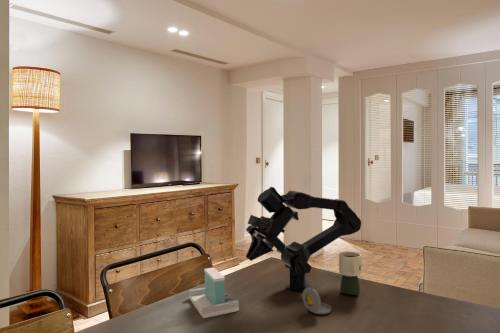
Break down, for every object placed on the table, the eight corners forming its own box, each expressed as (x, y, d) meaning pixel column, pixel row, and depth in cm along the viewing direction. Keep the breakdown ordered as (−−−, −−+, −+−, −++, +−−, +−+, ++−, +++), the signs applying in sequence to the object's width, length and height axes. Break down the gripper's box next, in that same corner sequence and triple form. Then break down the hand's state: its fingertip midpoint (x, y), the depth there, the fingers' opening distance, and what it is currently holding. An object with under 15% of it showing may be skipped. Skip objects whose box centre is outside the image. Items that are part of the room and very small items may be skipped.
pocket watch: (332, 307, 109) (332, 274, 108) (329, 319, 101) (329, 284, 101) (305, 303, 112) (305, 271, 111) (300, 315, 104) (299, 281, 103)
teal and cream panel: (214, 292, 117) (213, 267, 117) (225, 305, 108) (224, 277, 108) (204, 294, 116) (204, 268, 116) (215, 307, 107) (214, 279, 106)
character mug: (365, 300, 114) (366, 259, 113) (343, 300, 114) (343, 259, 113) (356, 286, 125) (356, 249, 124) (335, 286, 125) (335, 249, 124)
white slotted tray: (221, 292, 121) (221, 284, 121) (238, 310, 107) (238, 301, 107) (189, 298, 116) (189, 290, 116) (203, 318, 103) (203, 308, 103)
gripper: (250, 202, 126) (221, 237, 122) (276, 210, 109) (243, 251, 105) (270, 222, 130) (243, 256, 126) (298, 233, 113) (267, 273, 109)
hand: (248, 258), depth 116 cm, fingers closed
